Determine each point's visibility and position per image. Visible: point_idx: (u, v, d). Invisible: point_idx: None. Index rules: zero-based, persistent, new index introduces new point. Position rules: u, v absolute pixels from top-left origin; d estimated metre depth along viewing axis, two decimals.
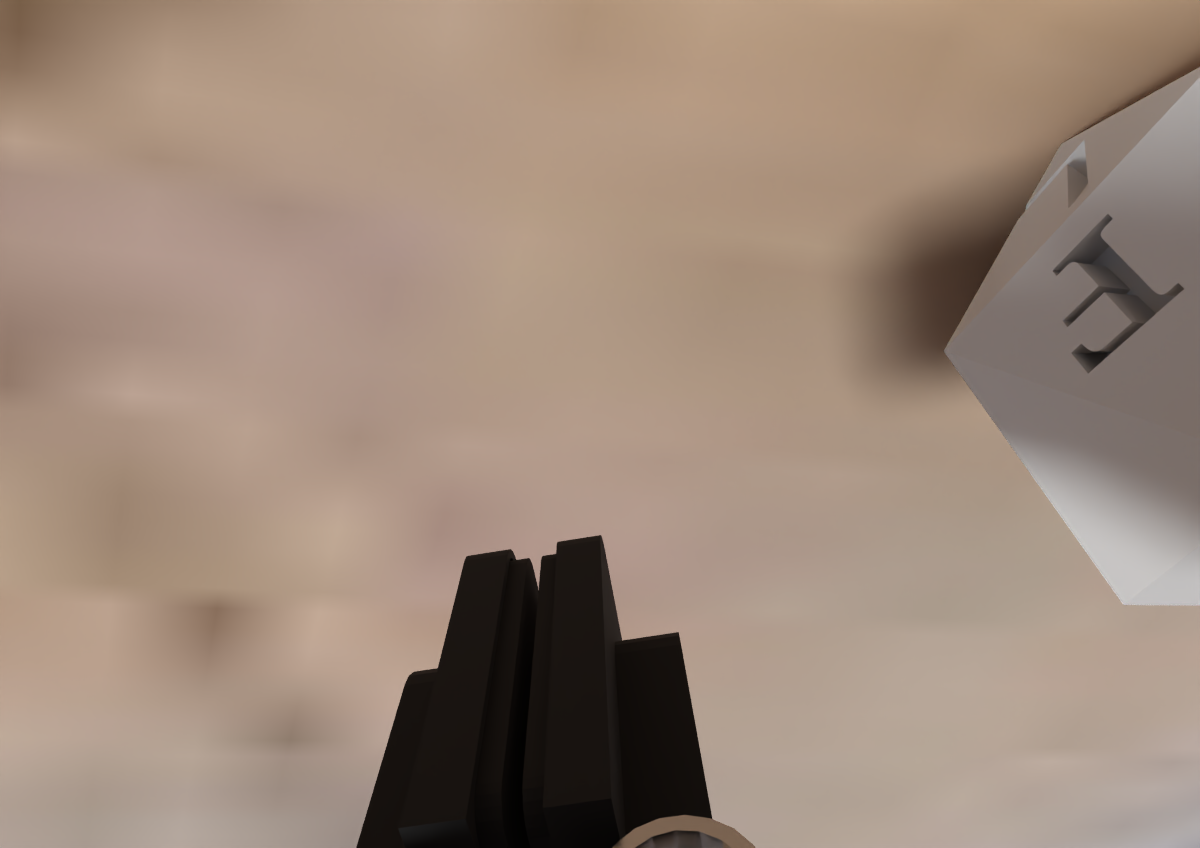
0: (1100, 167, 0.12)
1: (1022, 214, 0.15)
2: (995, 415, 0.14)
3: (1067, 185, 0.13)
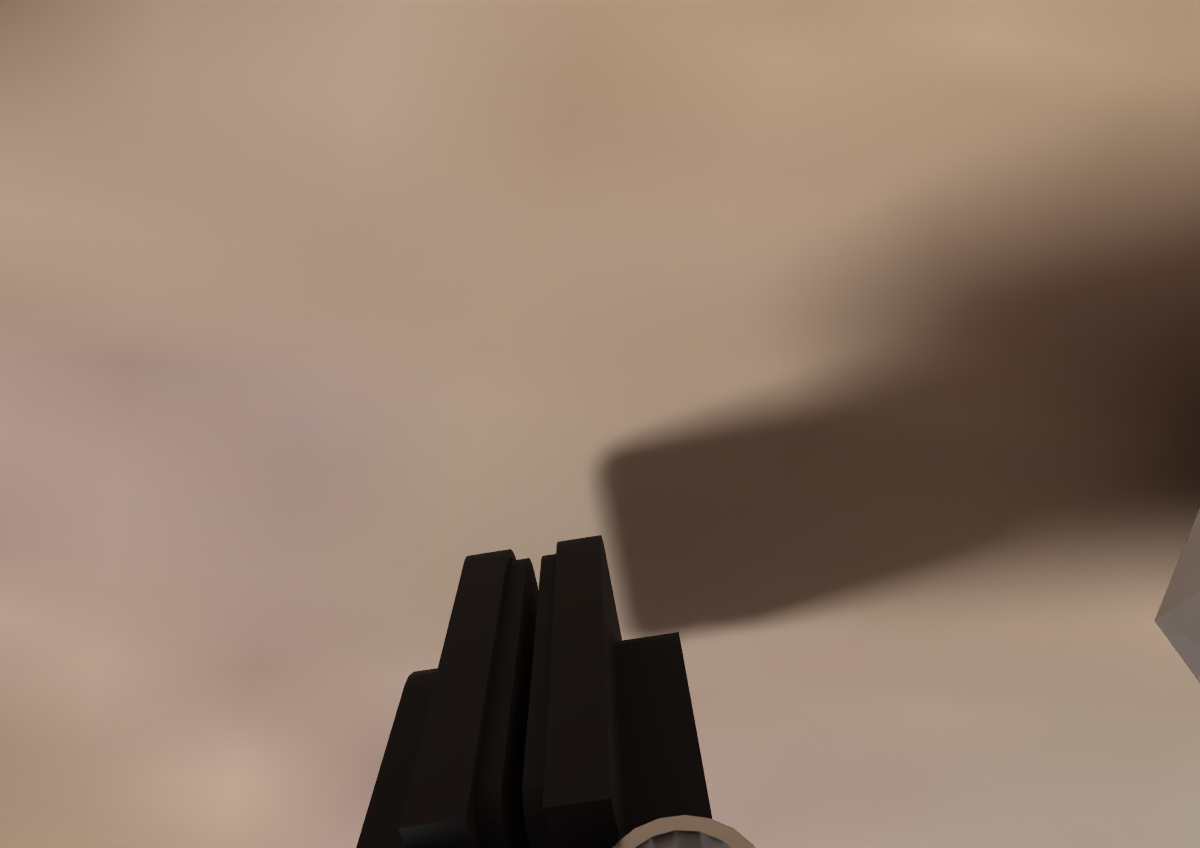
0: None
1: None
2: None
3: None
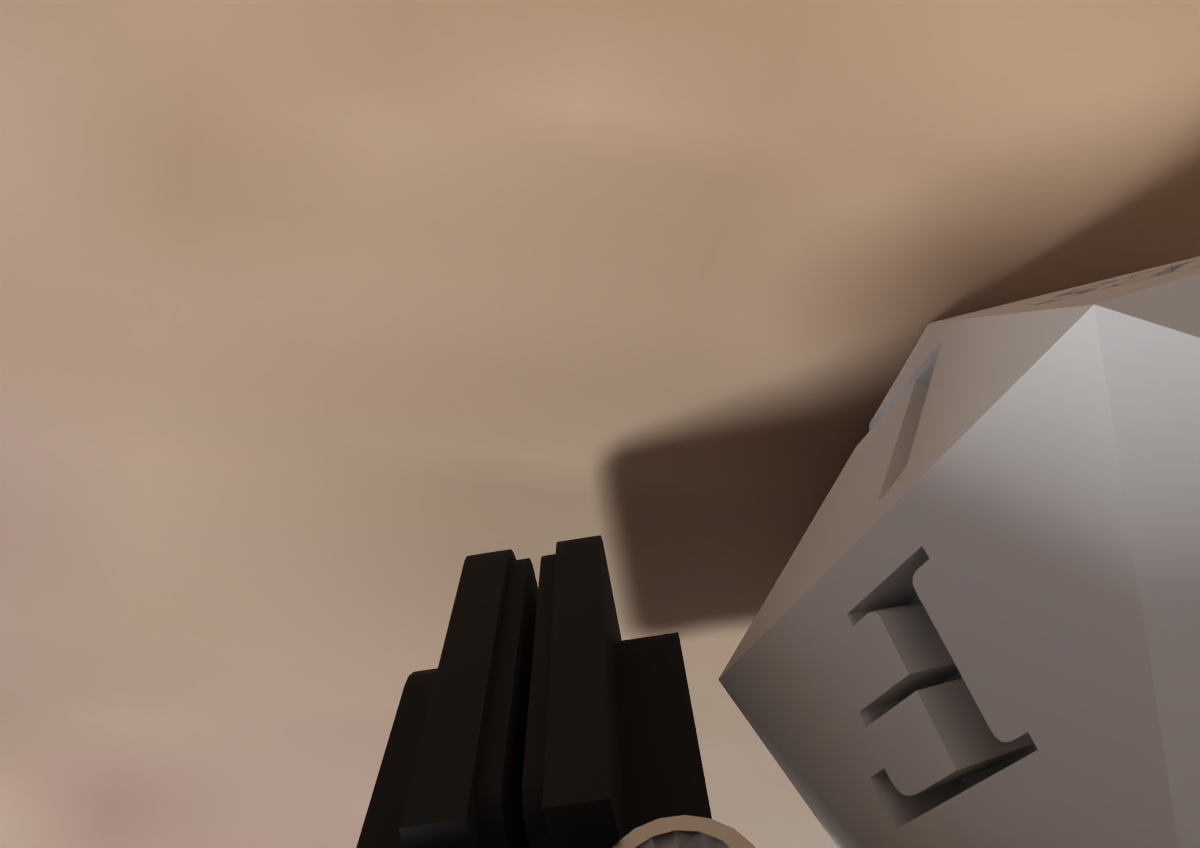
0: (925, 439, 0.07)
1: (860, 441, 0.10)
2: (797, 789, 0.08)
3: (898, 434, 0.08)
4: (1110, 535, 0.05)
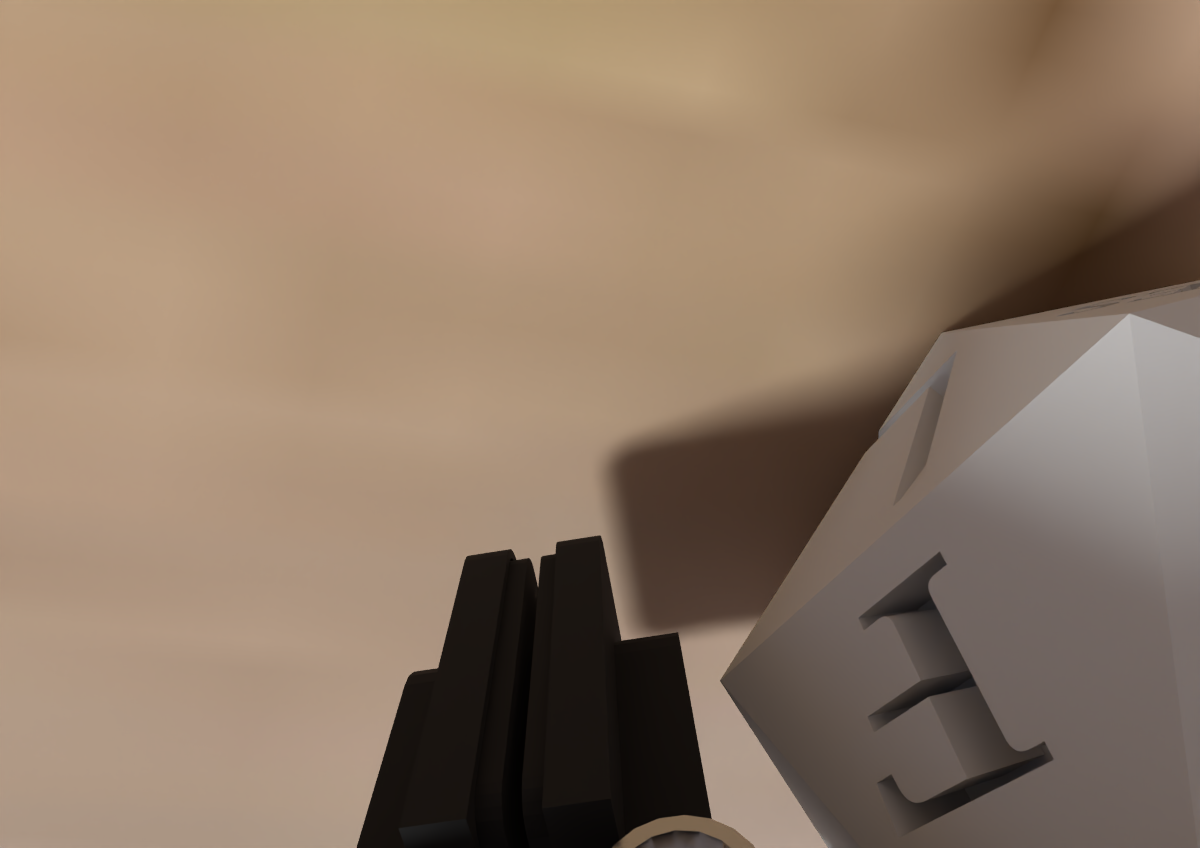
0: (944, 445, 0.07)
1: (870, 447, 0.10)
2: (794, 792, 0.08)
3: (913, 440, 0.08)
4: (1139, 546, 0.05)
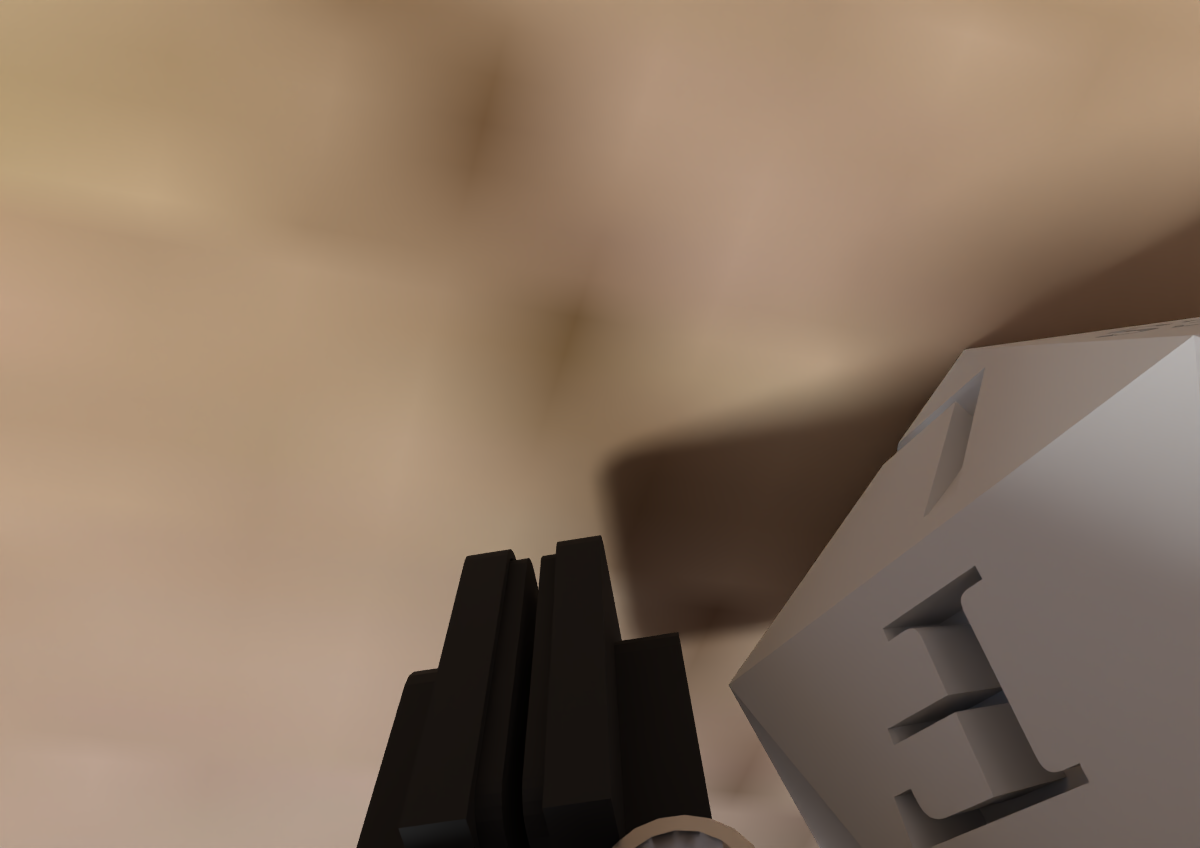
0: (980, 459, 0.07)
1: (889, 459, 0.10)
2: (798, 803, 0.08)
3: (940, 453, 0.08)
4: (1190, 569, 0.05)
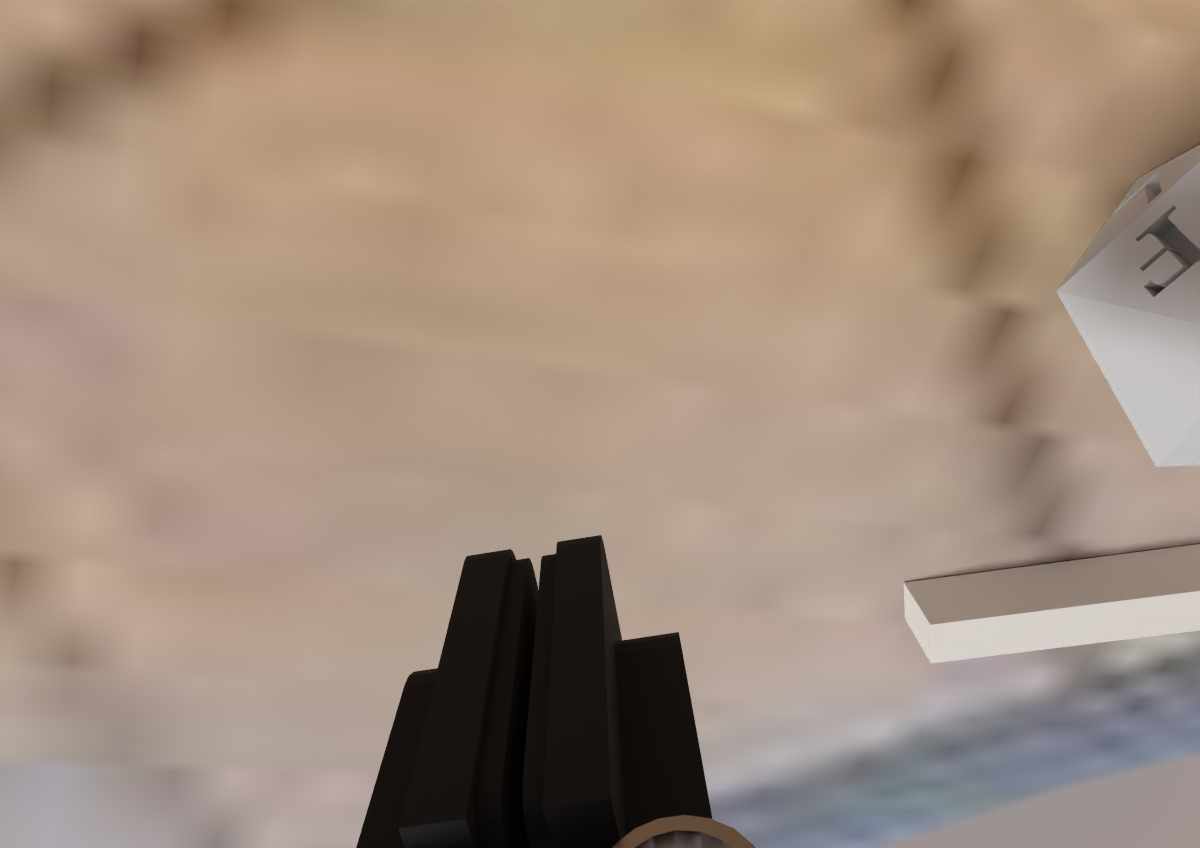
0: (1170, 181, 0.20)
1: None
2: (1085, 334, 0.21)
3: (1145, 195, 0.21)
4: None
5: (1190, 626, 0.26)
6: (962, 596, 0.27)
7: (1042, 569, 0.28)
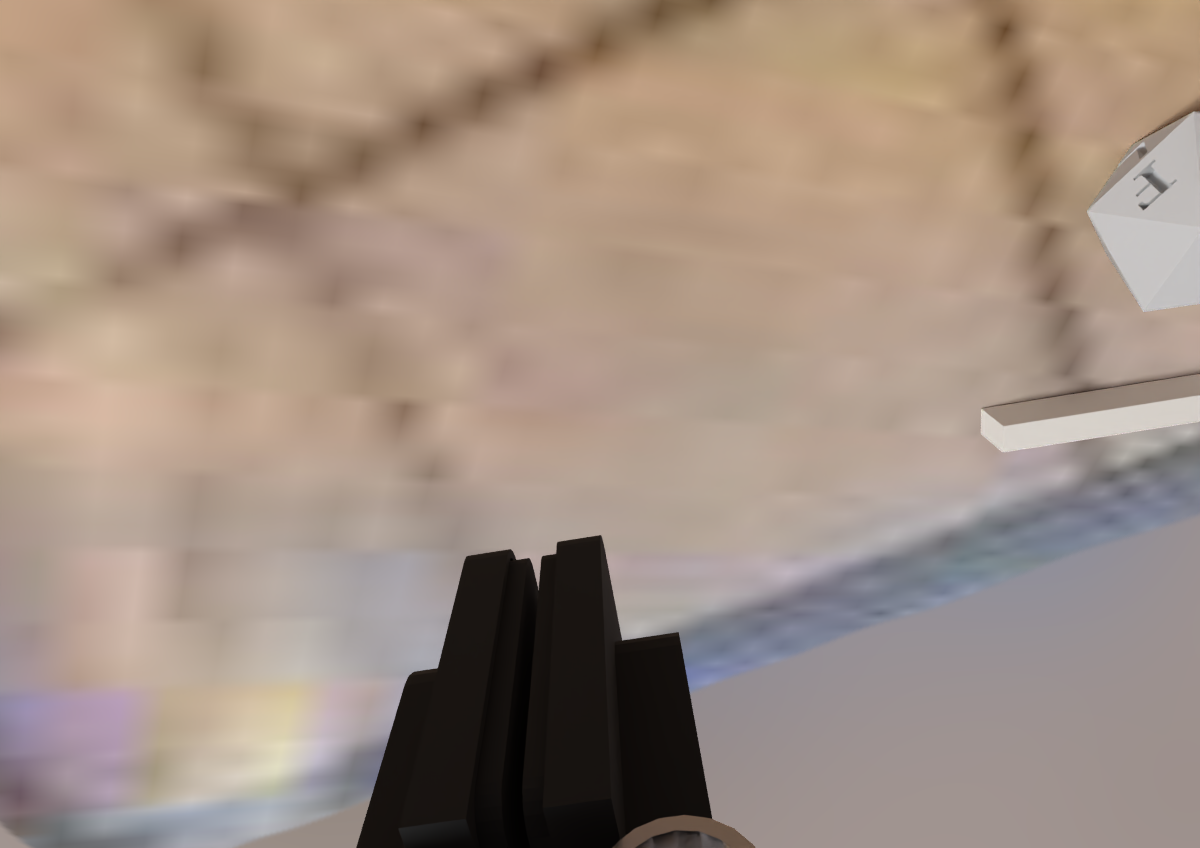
0: (1152, 146, 0.35)
1: (1116, 168, 0.38)
2: (1103, 235, 0.37)
3: (1137, 154, 0.36)
4: (1193, 144, 0.33)
5: (1162, 424, 0.42)
6: (1021, 412, 0.43)
7: (1069, 396, 0.43)
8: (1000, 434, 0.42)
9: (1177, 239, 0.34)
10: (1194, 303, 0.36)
